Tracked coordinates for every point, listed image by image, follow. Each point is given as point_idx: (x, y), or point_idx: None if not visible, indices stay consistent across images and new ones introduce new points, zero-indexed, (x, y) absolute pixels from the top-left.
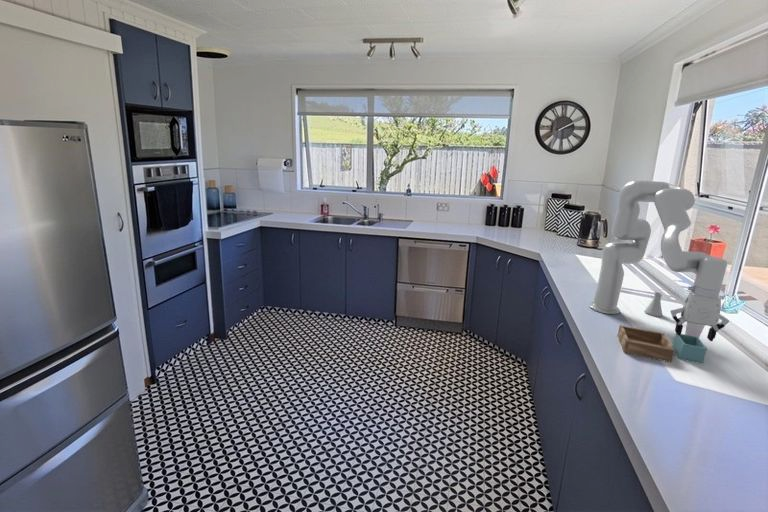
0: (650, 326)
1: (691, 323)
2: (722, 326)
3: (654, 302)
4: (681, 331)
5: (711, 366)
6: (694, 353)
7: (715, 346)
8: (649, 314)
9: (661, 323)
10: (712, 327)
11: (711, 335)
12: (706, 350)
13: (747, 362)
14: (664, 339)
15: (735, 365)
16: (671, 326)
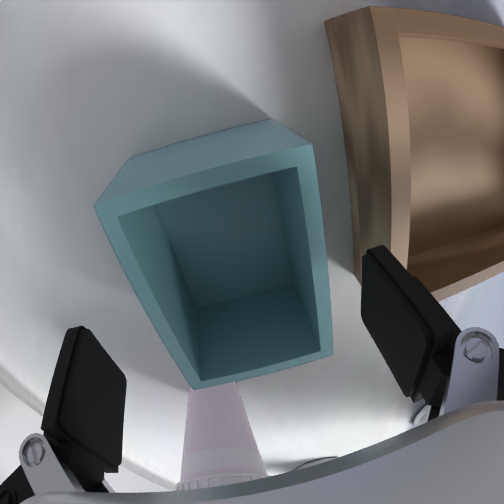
0: (350, 406)
1: (248, 472)
2: (5, 493)
3: None
4: (388, 283)
5: (81, 156)
6: (189, 153)
7: (125, 408)
8: (329, 458)
9: (305, 442)
10: (89, 476)
11: (72, 375)
12: (100, 198)
13: (4, 344)
14: (407, 225)
15: (10, 281)
16: (275, 445)
